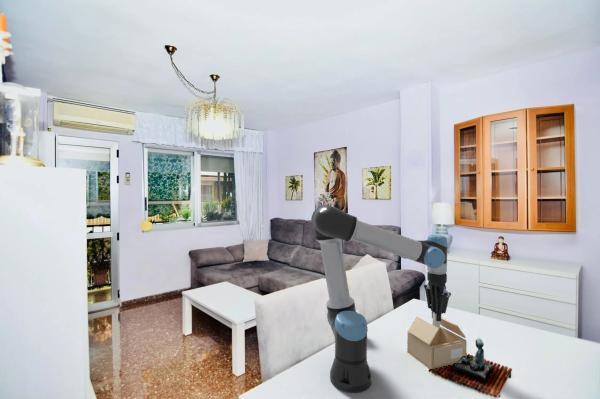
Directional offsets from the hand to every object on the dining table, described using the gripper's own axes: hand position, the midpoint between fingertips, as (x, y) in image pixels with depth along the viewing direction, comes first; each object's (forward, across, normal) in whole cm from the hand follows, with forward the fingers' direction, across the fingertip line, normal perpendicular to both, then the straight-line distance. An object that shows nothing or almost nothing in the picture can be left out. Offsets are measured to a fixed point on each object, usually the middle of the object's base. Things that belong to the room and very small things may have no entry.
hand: (436, 327), depth 127 cm
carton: (+13, 0, 0) cm, 13 cm away
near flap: (+3, 0, +10) cm, 10 cm away
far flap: (+3, 0, -10) cm, 10 cm away
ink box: (+13, +29, +23) cm, 39 cm away
